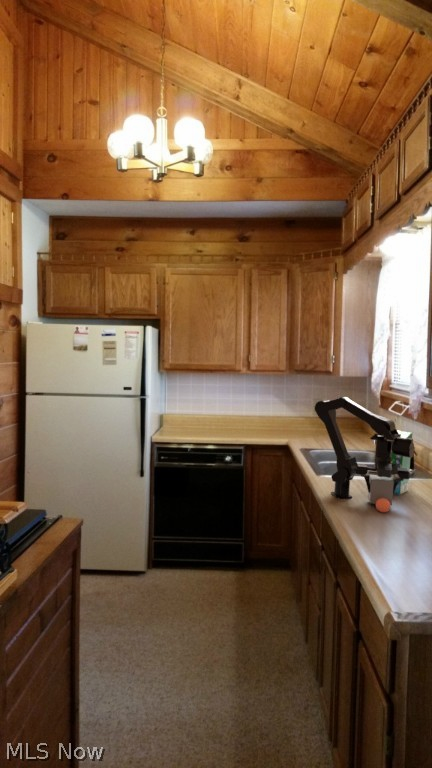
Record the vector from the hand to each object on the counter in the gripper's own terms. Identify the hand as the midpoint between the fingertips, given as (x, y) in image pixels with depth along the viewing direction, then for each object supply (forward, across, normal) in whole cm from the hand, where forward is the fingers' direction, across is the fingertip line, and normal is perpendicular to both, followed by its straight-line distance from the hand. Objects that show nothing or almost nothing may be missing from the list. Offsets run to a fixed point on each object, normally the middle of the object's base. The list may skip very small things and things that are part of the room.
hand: (380, 493), depth 172 cm
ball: (+2, 0, -7) cm, 8 cm away
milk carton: (+5, +8, +23) cm, 25 cm away
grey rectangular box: (+3, 0, 0) cm, 3 cm away
